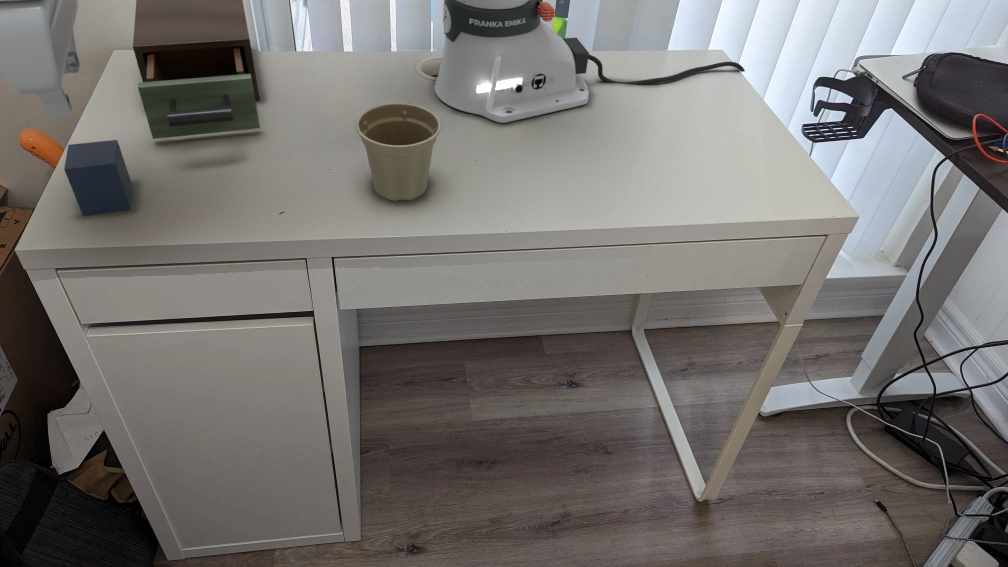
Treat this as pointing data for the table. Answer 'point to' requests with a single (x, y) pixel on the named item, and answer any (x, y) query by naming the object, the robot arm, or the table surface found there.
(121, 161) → the block
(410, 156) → the flower pot
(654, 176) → the table surface
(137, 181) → the table surface
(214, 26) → the cabinet
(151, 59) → the drawer
